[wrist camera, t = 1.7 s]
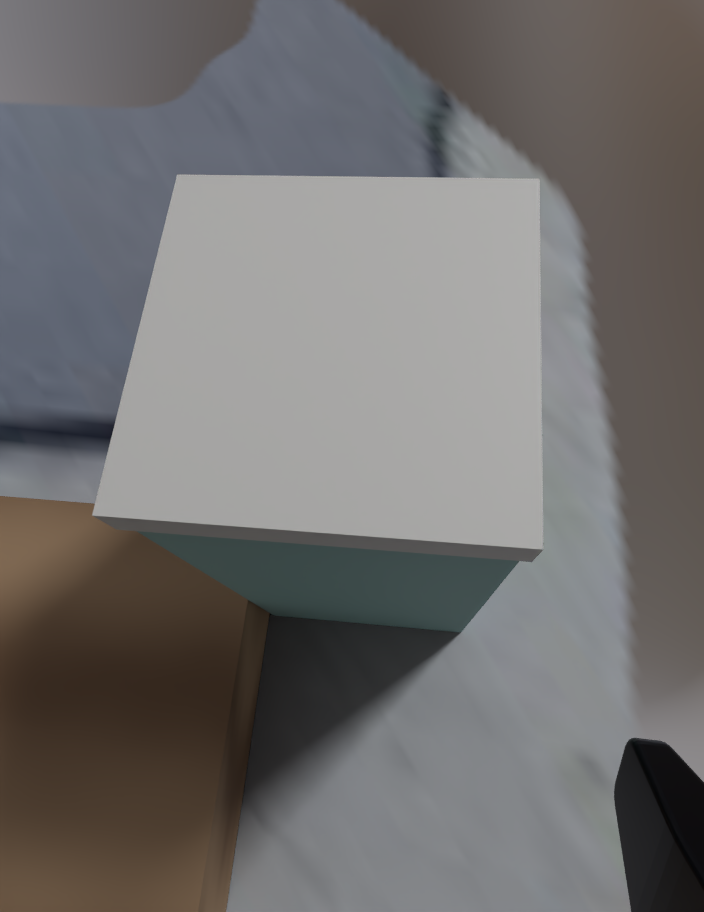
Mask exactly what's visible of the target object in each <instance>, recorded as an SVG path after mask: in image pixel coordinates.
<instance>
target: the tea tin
mask: <svg viewBox="0 0 704 912" xmlns="http://www.w3.org/2000/svg"><path fill="white" fill-rule="evenodd" d="M92 516H94V517H95V518H97V519H99V520H101V521H102V522H104V523H106V524H108V525H109V526H111V527H113V528H115V529H116V530H128V531H137V532H138V533H140V534H142V535H143V536H145V537H147V538H148V539H150V540H151V541H153V542H155V543H156V544H158V545H160V546H161V547H163V548H165V549H166V550H168V551H169V552H171V553H173V554H174V555H176V556H178V557H179V558H181V559H182V560H184V561H186V562H187V563H189V564H191V565H192V566H194V567H195V568H197V569H199V570H200V571H202V572H204V573H205V574H207V575H208V576H210V577H212V578H213V579H215V580H217V581H218V582H220V583H222V584H223V585H225V586H226V587H228V588H230V589H231V590H233V591H235V592H236V593H238V594H239V595H241V596H243V597H244V598H246V599H248V600H249V601H251V602H252V603H254V604H256V605H257V606H259V607H261V608H262V609H264V610H266V611H267V612H269V613H270V614H272V615H275V616H286V617H297V618H308V619H319V620H330V621H341V622H352V623H363V624H374V625H385V626H396V627H407V628H418V629H428V630H439V631H450V632H462V631H463V629H464V628H465V627H466V626H467V624H468V623H469V622H470V621H471V620H472V618H473V617H474V616H475V615H476V613H477V612H478V611H479V610H480V609H481V607H482V606H483V605H484V604H485V602H486V601H487V600H488V599H489V598H490V596H491V595H492V594H493V593H494V591H495V590H496V589H497V588H498V587H499V585H500V584H501V583H502V582H503V580H504V579H505V578H506V577H507V576H508V574H509V573H510V572H511V571H512V569H513V568H514V567H515V566H516V565H517V563H518V562H519V561H526V562H532V561H533V560H534V559H535V558H536V557H537V556H538V555H539V554H540V553H541V552H542V550H543V476H542V379H541V282H540V186H539V179H510V178H422V177H335V176H247V175H177V178H176V182H175V186H174V190H173V194H172V198H171V202H170V206H169V210H168V214H167V218H166V222H165V226H164V230H163V234H162V238H161V242H160V246H159V250H158V254H157V258H156V262H155V266H154V270H153V274H152V278H151V282H150V286H149V290H148V294H147V298H146V302H145V306H144V310H143V314H142V318H141V322H140V326H139V330H138V334H137V338H136V342H135V346H134V350H133V354H132V358H131V362H130V366H129V370H128V374H127V378H126V382H125V386H124V390H123V394H122V398H121V402H120V406H119V410H118V414H117V418H116V422H115V426H114V430H113V434H112V438H111V442H110V446H109V450H108V454H107V458H106V462H105V466H104V470H103V474H102V478H101V482H100V486H99V490H98V494H97V498H96V502H95V506H94V510H93V514H92Z"/></svg>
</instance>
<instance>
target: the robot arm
mask: <svg viewBox="0 0 704 912" xmlns="http://www.w3.org/2000/svg"><path fill="white" fill-rule="evenodd" d="M614 800H615V809H616V815H617V822H618V828H619V835H620V841H621V848H622V854H623V861H624V867H625V874H626V880H627V887H628V893H629V900H630V906H631V912H704V782H703V781H702V780H701V779H700V778H699V777H698V776H697V775H696V773H695V772H694V771H693V770H692V769H691V768H690V767H689V766H688V765H687V764H686V763H685V762H684V760H682V758H681V757H680V756H679V755H678V754H677V753H676V752H675V751H674V750H673V749H672V748H671V747H670V746H669V745H668V744H666V743H665V742H662V741H657V740H649V739H640V738H631V739H630V740H629V741H628V742H627V744H626V746H625V749H624V753H623V757H622V760H621V764H620V768H619V771H618V775H617V778H616V782H615V789H614Z"/></svg>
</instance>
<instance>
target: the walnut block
mask: <svg viewBox="0 0 704 912" xmlns="http://www.w3.org/2000/svg"><path fill="white" fill-rule="evenodd" d="M94 506H95V504H91V503H79V502H67V501H54V500H42V499H30V498H17V497H5V496H0V912H226V908H227V901H228V894H229V887H230V880H231V874H232V867H233V860H234V853H235V846H236V839H237V833H238V826H239V819H240V812H241V805H242V799H243V792H244V785H245V778H246V771H247V764H248V758H249V751H250V744H251V737H252V730H253V723H254V717H255V710H256V703H257V696H258V689H259V683H260V676H261V669H262V662H263V655H264V648H265V642H266V635H267V628H268V621H269V614H270V613H269V612H267V611H266V610H264V609H262V608H261V607H259V606H257V605H256V604H254V603H252V602H251V601H249V600H248V599H246V598H244V597H243V596H241V595H239V594H238V593H236V592H235V591H233V590H231V589H230V588H228V587H226V586H225V585H223V584H222V583H220V582H218V581H217V580H215V579H213V578H212V577H210V576H208V575H207V574H205V573H204V572H202V571H200V570H199V569H197V568H195V567H194V566H192V565H191V564H189V563H187V562H186V561H184V560H182V559H181V558H179V557H178V556H176V555H174V554H173V553H171V552H169V551H168V550H166V549H165V548H163V547H161V546H160V545H158V544H156V543H155V542H153V541H151V540H150V539H148V538H147V537H145V536H143V535H142V534H140V533H138V532H137V531H128V530H116V529H115V528H113V527H111V526H109V525H108V524H106V523H104V522H102V521H101V520H99V519H97V518H95V517H94V516H92V514H93V510H94Z"/></svg>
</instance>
